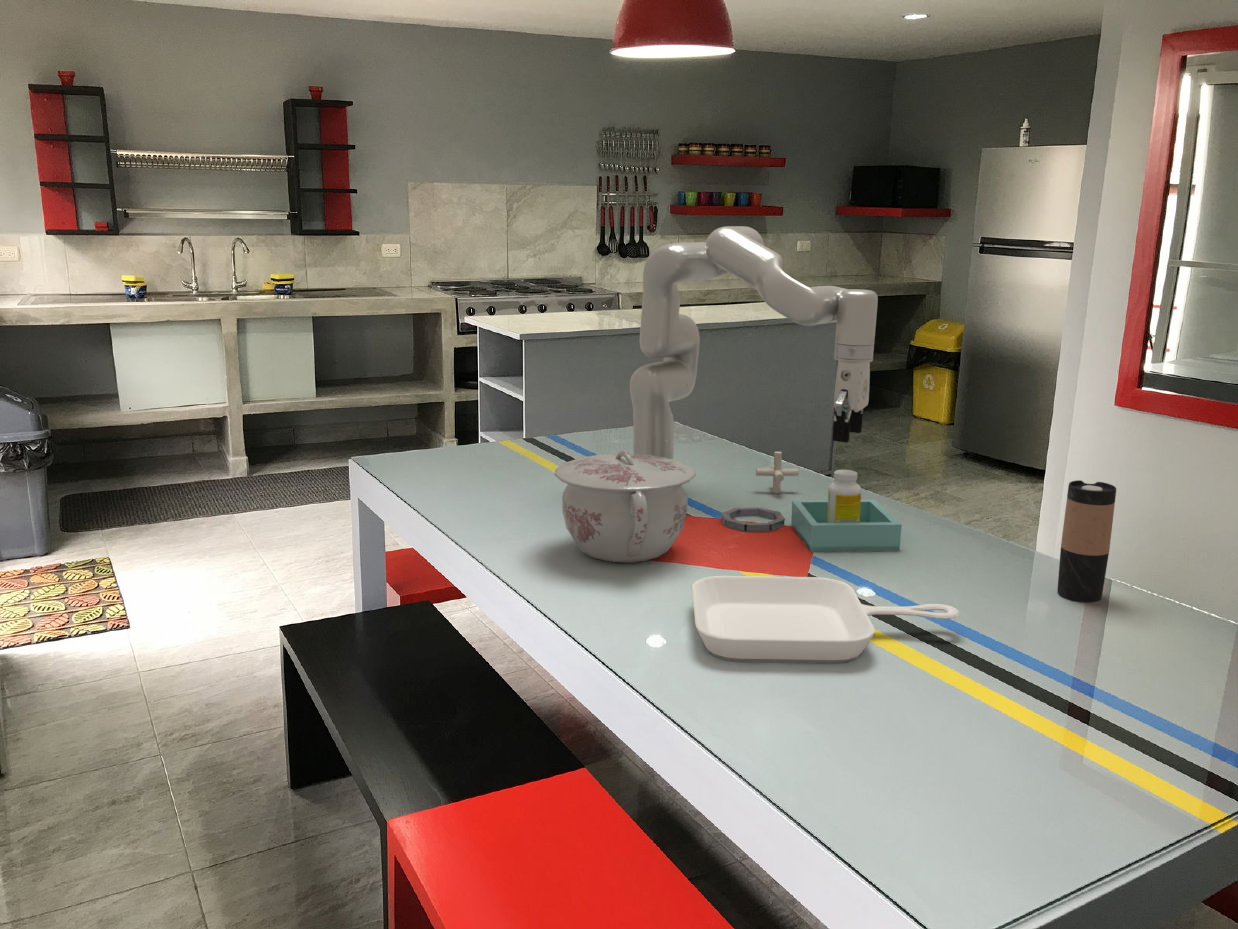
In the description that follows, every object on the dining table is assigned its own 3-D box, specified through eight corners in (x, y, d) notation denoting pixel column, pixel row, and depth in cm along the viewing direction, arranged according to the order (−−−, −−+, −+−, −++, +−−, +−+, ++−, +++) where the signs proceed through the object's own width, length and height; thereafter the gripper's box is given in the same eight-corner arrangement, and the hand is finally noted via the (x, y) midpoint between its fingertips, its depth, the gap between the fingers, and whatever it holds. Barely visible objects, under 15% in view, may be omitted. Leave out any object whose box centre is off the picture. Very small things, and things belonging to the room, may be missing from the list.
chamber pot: (600, 524, 216) (600, 430, 211) (716, 544, 203) (719, 444, 198) (526, 561, 192) (523, 456, 187) (651, 587, 179) (652, 475, 174)
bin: (810, 551, 198) (811, 525, 197) (791, 524, 216) (792, 500, 214) (899, 550, 199) (901, 524, 198) (873, 524, 216) (874, 499, 215)
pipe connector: (800, 498, 236) (802, 457, 234) (758, 498, 236) (759, 457, 234) (794, 487, 246) (795, 447, 243) (753, 487, 246) (754, 447, 244)
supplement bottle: (865, 534, 206) (869, 474, 203) (839, 539, 203) (843, 477, 200) (845, 525, 212) (848, 466, 209) (819, 529, 209) (822, 470, 206)
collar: (727, 532, 211) (727, 525, 210) (718, 514, 223) (718, 507, 223) (788, 531, 211) (788, 524, 211) (776, 513, 224) (776, 507, 224)
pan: (689, 600, 174) (690, 575, 173) (933, 603, 173) (936, 578, 171) (696, 667, 148) (697, 638, 147) (984, 672, 146) (987, 643, 145)
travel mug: (1083, 606, 171) (1096, 493, 166) (1046, 591, 177) (1058, 483, 173) (1112, 598, 174) (1127, 488, 169) (1075, 584, 181) (1088, 478, 176)
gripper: (861, 359, 189) (854, 447, 193) (882, 349, 204) (875, 430, 208) (822, 356, 192) (816, 442, 197) (846, 346, 207) (840, 426, 212)
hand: (847, 436), depth 203 cm, fingers open, 9 cm apart
